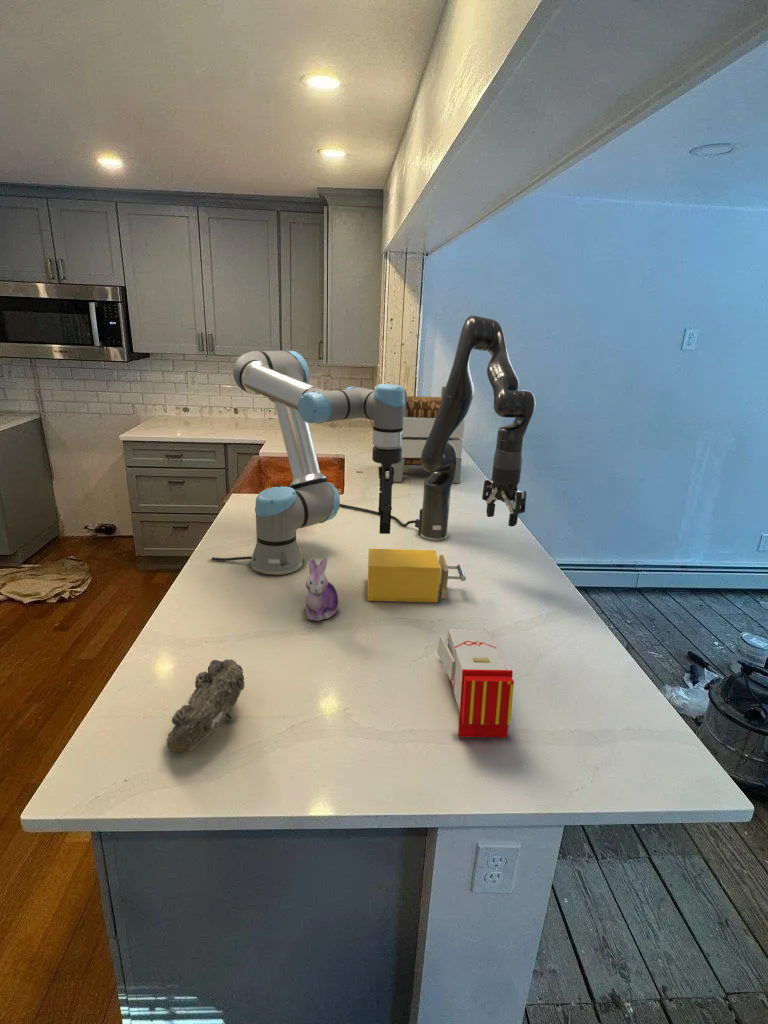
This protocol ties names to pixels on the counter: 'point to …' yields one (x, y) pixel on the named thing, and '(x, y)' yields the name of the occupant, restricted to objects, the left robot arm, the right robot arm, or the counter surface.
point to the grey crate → (423, 433)
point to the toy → (478, 682)
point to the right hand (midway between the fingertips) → (500, 521)
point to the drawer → (445, 577)
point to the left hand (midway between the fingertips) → (383, 523)
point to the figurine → (320, 593)
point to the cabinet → (403, 575)
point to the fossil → (206, 705)
